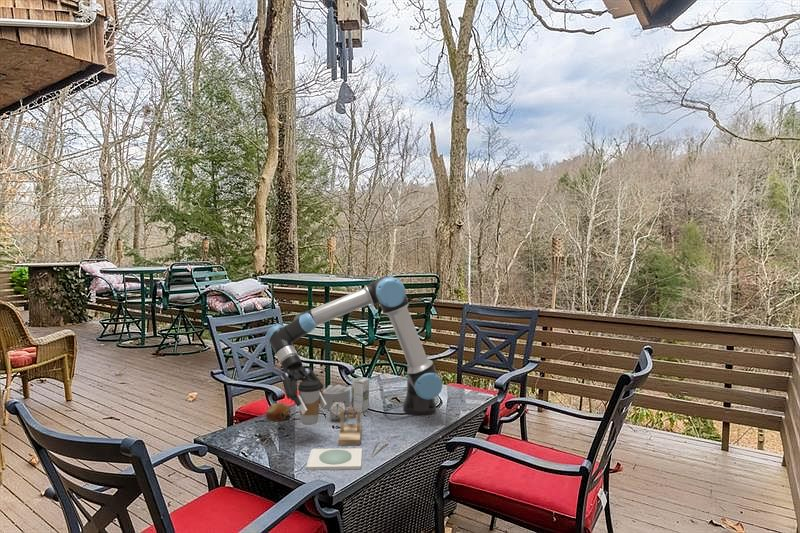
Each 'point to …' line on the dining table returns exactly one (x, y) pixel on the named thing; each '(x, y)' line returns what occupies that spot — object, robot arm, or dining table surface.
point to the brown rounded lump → (278, 412)
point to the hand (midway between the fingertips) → (314, 409)
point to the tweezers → (378, 450)
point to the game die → (337, 410)
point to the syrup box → (360, 394)
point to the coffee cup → (310, 401)
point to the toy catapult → (350, 428)
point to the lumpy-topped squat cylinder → (336, 395)
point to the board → (335, 459)
